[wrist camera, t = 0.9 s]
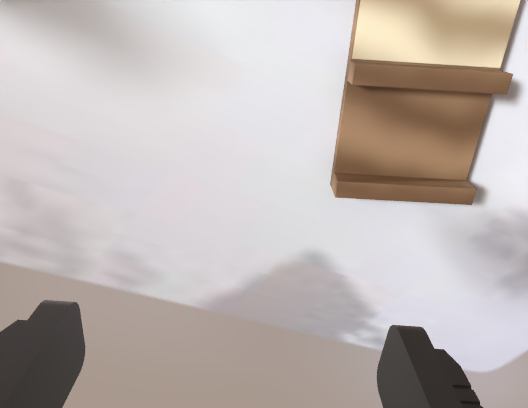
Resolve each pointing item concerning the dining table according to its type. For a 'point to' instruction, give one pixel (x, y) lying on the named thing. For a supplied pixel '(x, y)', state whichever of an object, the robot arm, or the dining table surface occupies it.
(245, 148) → the dining table surface
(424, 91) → the notch rack
